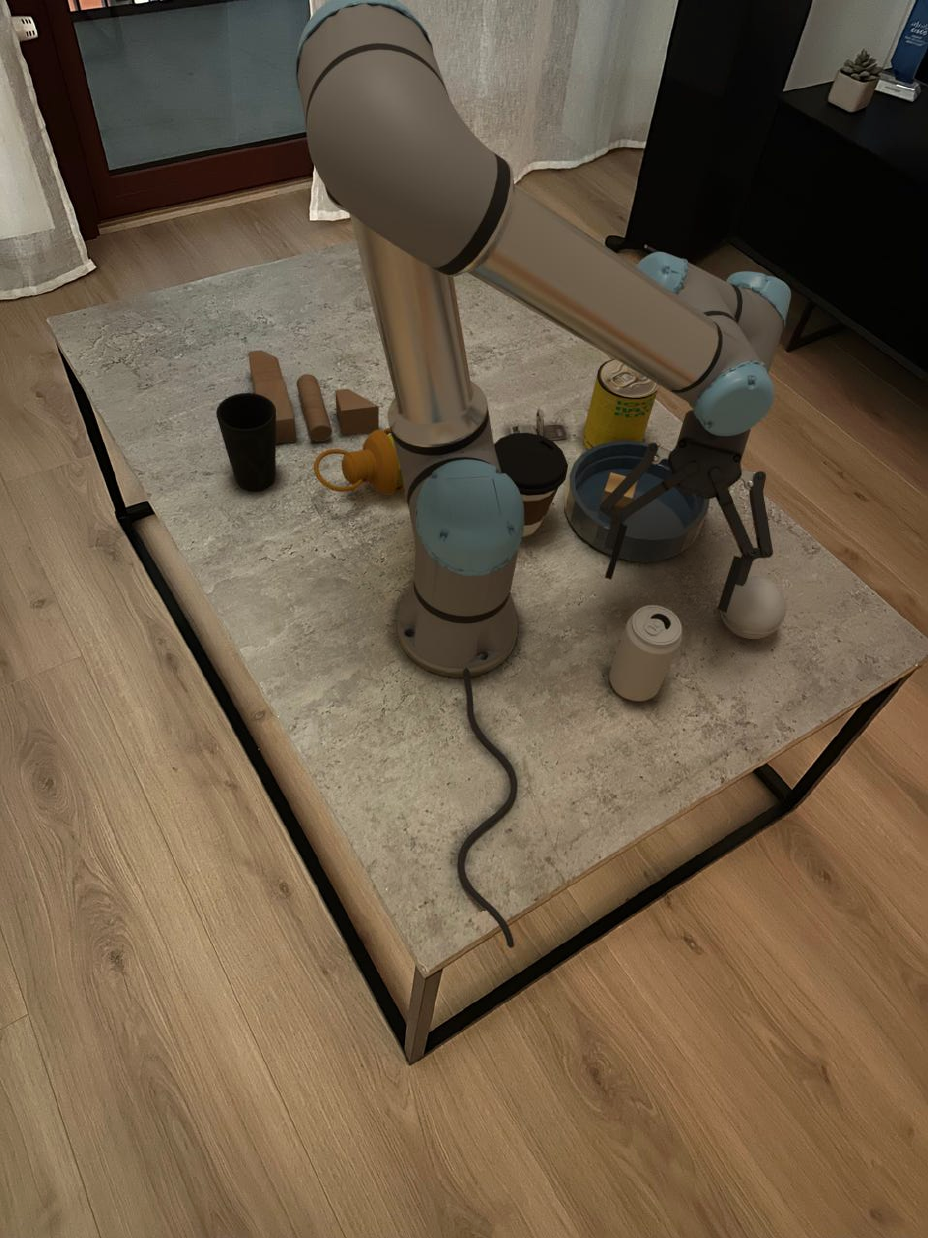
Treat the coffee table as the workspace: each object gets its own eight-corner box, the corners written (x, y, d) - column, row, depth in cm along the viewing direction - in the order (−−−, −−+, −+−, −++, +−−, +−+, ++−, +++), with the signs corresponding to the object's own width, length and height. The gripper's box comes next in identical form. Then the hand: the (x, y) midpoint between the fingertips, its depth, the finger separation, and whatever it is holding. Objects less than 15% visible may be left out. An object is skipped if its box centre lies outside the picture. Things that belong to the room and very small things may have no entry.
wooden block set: (262, 420, 126) (245, 344, 137) (266, 451, 131) (249, 374, 141) (380, 406, 130) (354, 332, 141) (380, 436, 135) (355, 362, 145)
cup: (272, 502, 125) (264, 435, 115) (219, 491, 125) (207, 423, 116) (290, 465, 129) (283, 398, 120) (239, 455, 130) (228, 387, 120)
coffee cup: (515, 483, 131) (526, 418, 121) (571, 524, 127) (586, 461, 117) (461, 518, 126) (468, 453, 116) (518, 562, 121) (530, 499, 112)
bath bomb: (700, 616, 118) (718, 577, 112) (744, 594, 121) (764, 555, 115) (741, 660, 114) (762, 622, 108) (785, 636, 117) (809, 598, 111)
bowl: (687, 580, 122) (698, 556, 118) (548, 540, 124) (554, 515, 120) (708, 486, 134) (718, 461, 130) (581, 452, 136) (587, 426, 132)
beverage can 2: (669, 683, 111) (696, 624, 102) (638, 714, 108) (664, 656, 99) (628, 653, 114) (651, 592, 104) (597, 682, 110) (618, 623, 101)
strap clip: (512, 443, 136) (516, 421, 133) (508, 429, 138) (511, 407, 135) (566, 439, 138) (571, 418, 134) (561, 426, 139) (566, 404, 136)
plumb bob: (454, 439, 136) (299, 468, 125) (472, 400, 129) (308, 427, 118) (479, 487, 133) (322, 521, 122) (499, 449, 126) (333, 482, 115)
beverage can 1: (651, 444, 139) (672, 380, 129) (615, 469, 134) (633, 405, 125) (607, 414, 142) (624, 350, 133) (570, 438, 138) (584, 374, 128)
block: (626, 518, 127) (632, 498, 124) (598, 510, 128) (604, 490, 125) (631, 499, 130) (638, 479, 127) (604, 492, 130) (610, 471, 127)
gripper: (820, 447, 105) (764, 621, 108) (613, 393, 108) (563, 564, 111) (837, 441, 97) (775, 627, 100) (613, 383, 100) (560, 566, 103)
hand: (664, 594), depth 105 cm, fingers open, 13 cm apart
